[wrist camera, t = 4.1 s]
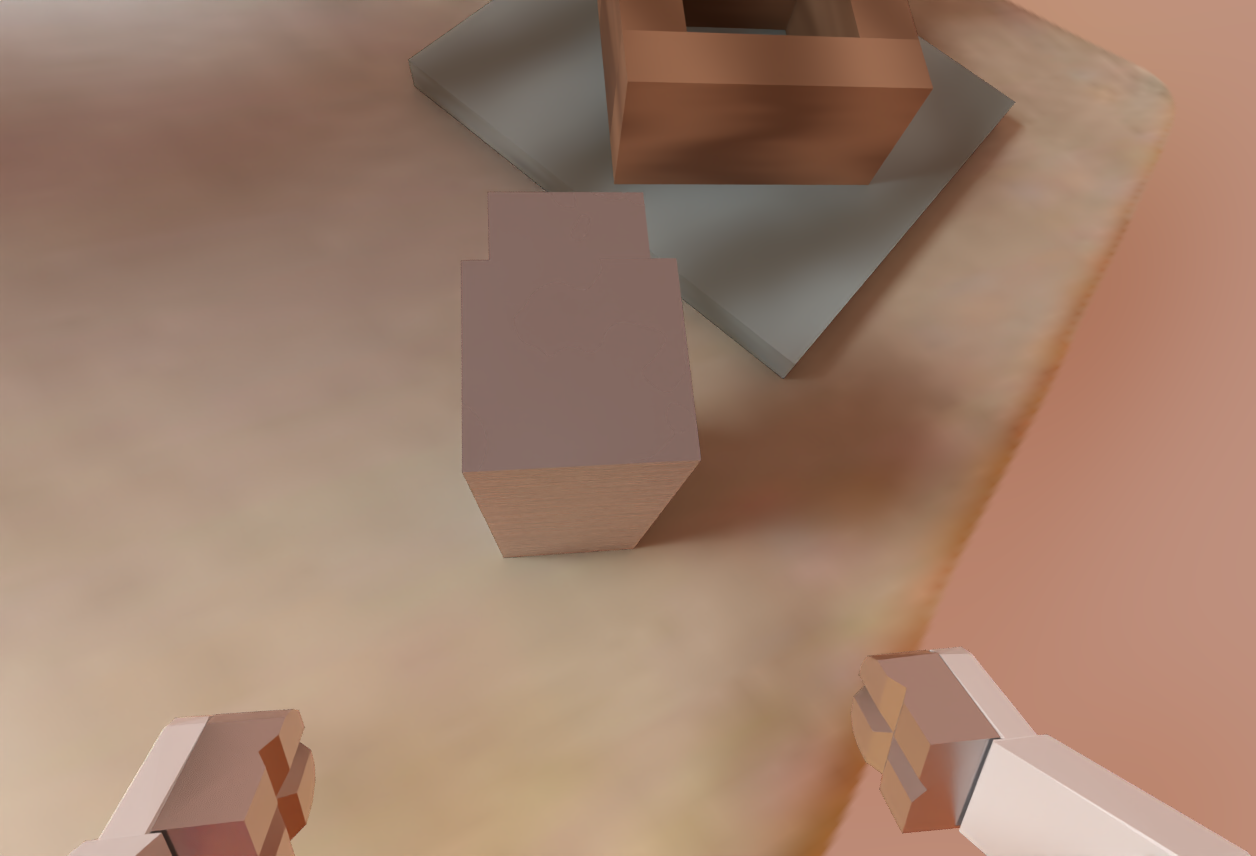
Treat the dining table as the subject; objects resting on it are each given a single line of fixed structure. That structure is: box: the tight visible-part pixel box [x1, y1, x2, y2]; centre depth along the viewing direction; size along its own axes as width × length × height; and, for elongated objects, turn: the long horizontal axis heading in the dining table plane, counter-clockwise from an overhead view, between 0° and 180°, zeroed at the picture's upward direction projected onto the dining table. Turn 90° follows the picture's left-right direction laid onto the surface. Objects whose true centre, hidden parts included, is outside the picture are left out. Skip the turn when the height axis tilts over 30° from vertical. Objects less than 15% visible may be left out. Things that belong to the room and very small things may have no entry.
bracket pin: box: [461, 192, 701, 558], centre depth 17 cm, size 4×6×10 cm
